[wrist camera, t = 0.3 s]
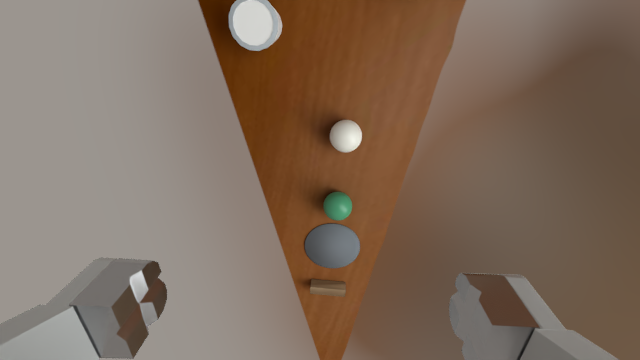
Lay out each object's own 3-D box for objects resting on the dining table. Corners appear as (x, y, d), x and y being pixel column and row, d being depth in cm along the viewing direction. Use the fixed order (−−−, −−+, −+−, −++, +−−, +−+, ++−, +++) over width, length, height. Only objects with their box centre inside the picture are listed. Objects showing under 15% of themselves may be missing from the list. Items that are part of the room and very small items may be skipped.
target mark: (306, 221, 62) (306, 221, 62) (363, 226, 62) (363, 226, 62) (303, 265, 68) (303, 265, 67) (356, 269, 67) (356, 270, 67)
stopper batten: (311, 278, 69) (310, 287, 67) (345, 282, 69) (345, 290, 67) (310, 285, 70) (310, 293, 68) (344, 288, 70) (344, 296, 68)
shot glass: (247, 51, 48) (234, 53, 42) (238, 2, 45) (222, -3, 39) (289, 46, 48) (282, 47, 41) (282, -4, 45) (273, -10, 38)
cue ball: (331, 115, 52) (330, 123, 47) (362, 117, 52) (365, 126, 47) (328, 144, 55) (328, 155, 50) (358, 147, 55) (360, 158, 50)
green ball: (325, 185, 58) (324, 199, 53) (352, 187, 58) (354, 202, 53) (322, 209, 61) (321, 224, 56) (349, 211, 61) (350, 227, 56)
